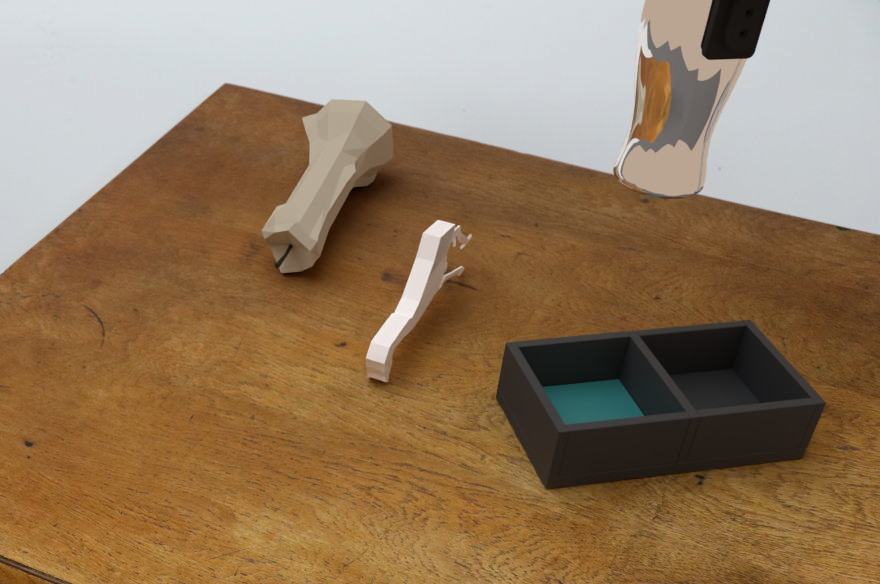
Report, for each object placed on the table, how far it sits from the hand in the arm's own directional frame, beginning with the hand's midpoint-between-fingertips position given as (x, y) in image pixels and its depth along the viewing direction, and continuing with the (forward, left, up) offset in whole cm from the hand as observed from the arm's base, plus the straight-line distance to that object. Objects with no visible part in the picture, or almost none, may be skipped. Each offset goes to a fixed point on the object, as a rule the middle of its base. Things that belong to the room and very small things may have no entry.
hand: (697, 31), depth 69 cm
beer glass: (0, 0, -10) cm, 10 cm away
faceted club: (+18, -24, -26) cm, 40 cm away
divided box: (+1, +8, -26) cm, 27 cm away
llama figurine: (+13, -7, -26) cm, 30 cm away
